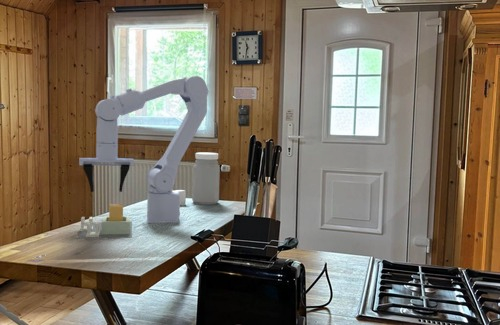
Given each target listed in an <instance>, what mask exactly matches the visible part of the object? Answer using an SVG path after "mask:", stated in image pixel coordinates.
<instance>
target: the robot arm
mask: <svg viewBox="0 0 500 325" xmlns="http://www.w3.org/2000/svg"><path fill="white" fill-rule="evenodd" d="M170 94H171V95H174V96H175V95H179V96H180V97H181V100H182V101H183V102H184V104H185V106H186V110H187V113H186V114H185V116H184V118H183V119H182V121H181V123H180V125H179V127H178V128H177V130H176V132H175V134H174V135H173V137H172V138H171V141H170V142H169V144H168V146H167V148H166V149H165V152H164V153H163V155H162V157H161V158H160V159H159V160H158V161H156V163H155V165H154V166H153V167H152V168H150V169H149V170H148V172H146V173H147V174H146V177H145V180H146V183H147V184H148V185H149V187H148V188H147V199H146V200H147V204H146V206H147V208H146V210H147V211H146V216H145V217H144V219H145V223H150V224H151V223H153V224H154V223H180V217H181V212H180V207H181V205H180V195H179V192H173V191H174V190H173V188H174V187H175V183H176V176H177V174H178V172H179V164H180V162H181V161H182V159H183V157H184V155H185V153H186V151H187V150H188V147H190V144H191V143H192V141H193V139H194V137H195V136H196V133H197V132H198V130H199V128H200V126H201V124H202V123H203V121H204V118H205V117H206V115H207V112H208V95H209V88H208V86H207V83H206V81H205V79H204V78H202V77H201V76H199V75H192V76H189V77H187V76H186V77H182V78H178V79H171V80H168V81H165V82H163V83H160V84H158V85H155V86H153V87H152V86H151V87H150V88H148V89H145V90H143V91H140V90H139V89H137V88H133V89H132V87H131V88H128V89H126V90H125V92H123V93H120V94H117V95H115V94H112V95H110V97H109V98H106V99H102V100H99V101H98V103H97V104H96V106H95V109H94V112H95V115H96V117H97V118H96V132H95V133H96V137H95V138H96V140H95V141H96V144H95V146H96V148H95V153H96V154H95V155H96V157H79V158H78V159H79V160H78V164H79V166H82V169H83V172H84V173H85V175H86V178H87V180H88V184H89V188H90V192H91V193H93V192H94V191H95V184H94V170H95V169H94V167H95V166H115V167H116V166H118V167H119V166H120V170H119V171H120V172H119V176H120V177H119V187H118V188H119V192H120V193H122V192H123V186H124V182H125V179H126V177H127V175H128V172H129V170H130V167H134V163H135V162H134V160H135V159H134V158H123V157H118V150H119V149H118V146H119V126H118V118H119V117H120V116H122V117H123V116H125V115H128V114H130V113H133V112H135V111H138V110H141V109H143V108H144V107H145V105H146V103H147V102H150V101H153V100H156V99H158V98H159V99H160V98H161V97H165V96H168V95H170Z"/></svg>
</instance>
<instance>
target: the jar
mask: <svg viewBox="0 0 500 325" xmlns="http://www.w3.org/2000/svg"><path fill="white" fill-rule="evenodd" d="M194 154H195V155H194V156H195V159H196V160H195V161H194V162H195V164H194V165H193V167H192V191H191V192H192V194H191V195H192V196H191V200H192V202H193V203H194V204H196V205H201V206H213V205H217V203H218V202H219V200H220V177H221V176H220V172H221V171H220V170H221V168H220V165H219V161H218V159H219V153H217V152H210V151H209V152H207V151H206V152H202V151H201V152H200V151H199V152H196V153H194Z"/></svg>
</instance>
